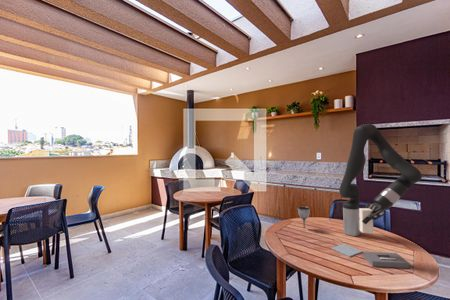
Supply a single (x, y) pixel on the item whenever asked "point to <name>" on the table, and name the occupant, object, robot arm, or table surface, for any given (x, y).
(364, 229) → the tall cream pillar
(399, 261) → the gray slotted base
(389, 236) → the table surface
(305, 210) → the wine glass
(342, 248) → the mat
